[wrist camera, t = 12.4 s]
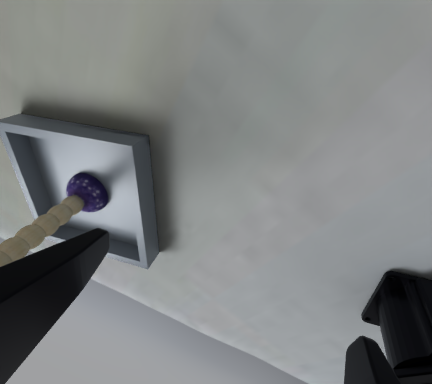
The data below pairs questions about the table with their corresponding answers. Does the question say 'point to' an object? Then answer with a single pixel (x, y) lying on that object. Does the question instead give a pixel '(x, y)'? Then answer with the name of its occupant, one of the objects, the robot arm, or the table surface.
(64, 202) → the toy lamp
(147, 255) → the desk tray
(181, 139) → the table surface
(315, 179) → the table surface
